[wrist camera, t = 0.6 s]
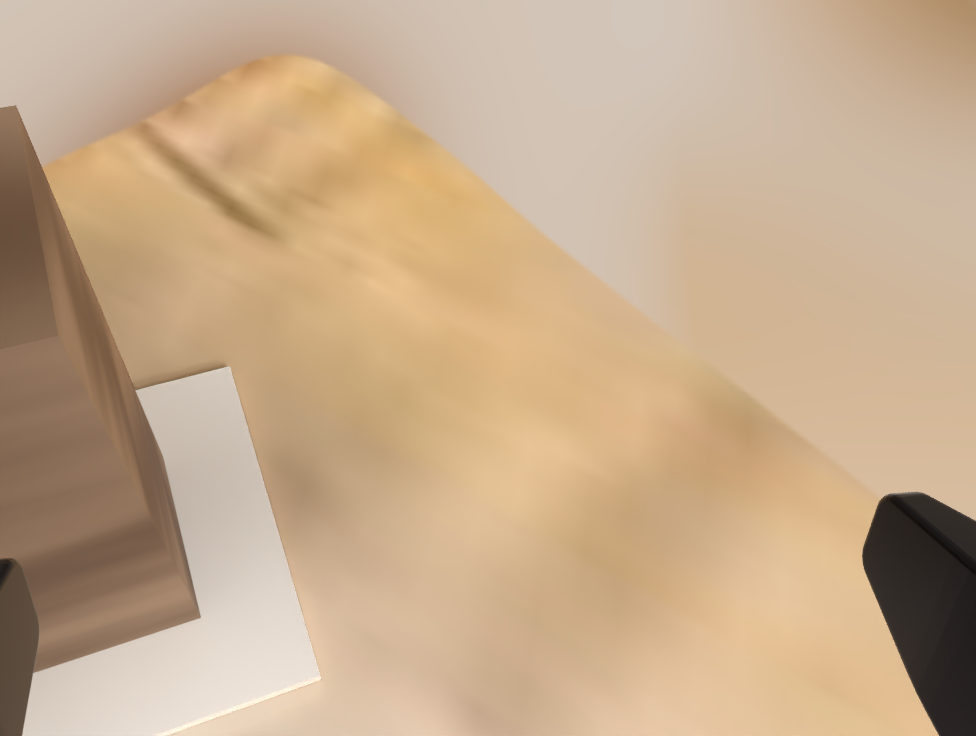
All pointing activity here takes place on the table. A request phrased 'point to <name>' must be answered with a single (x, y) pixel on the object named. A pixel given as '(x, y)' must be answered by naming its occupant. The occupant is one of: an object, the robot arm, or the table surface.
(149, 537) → the walnut post
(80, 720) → the tile
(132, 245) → the table surface
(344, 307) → the table surface
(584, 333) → the table surface
